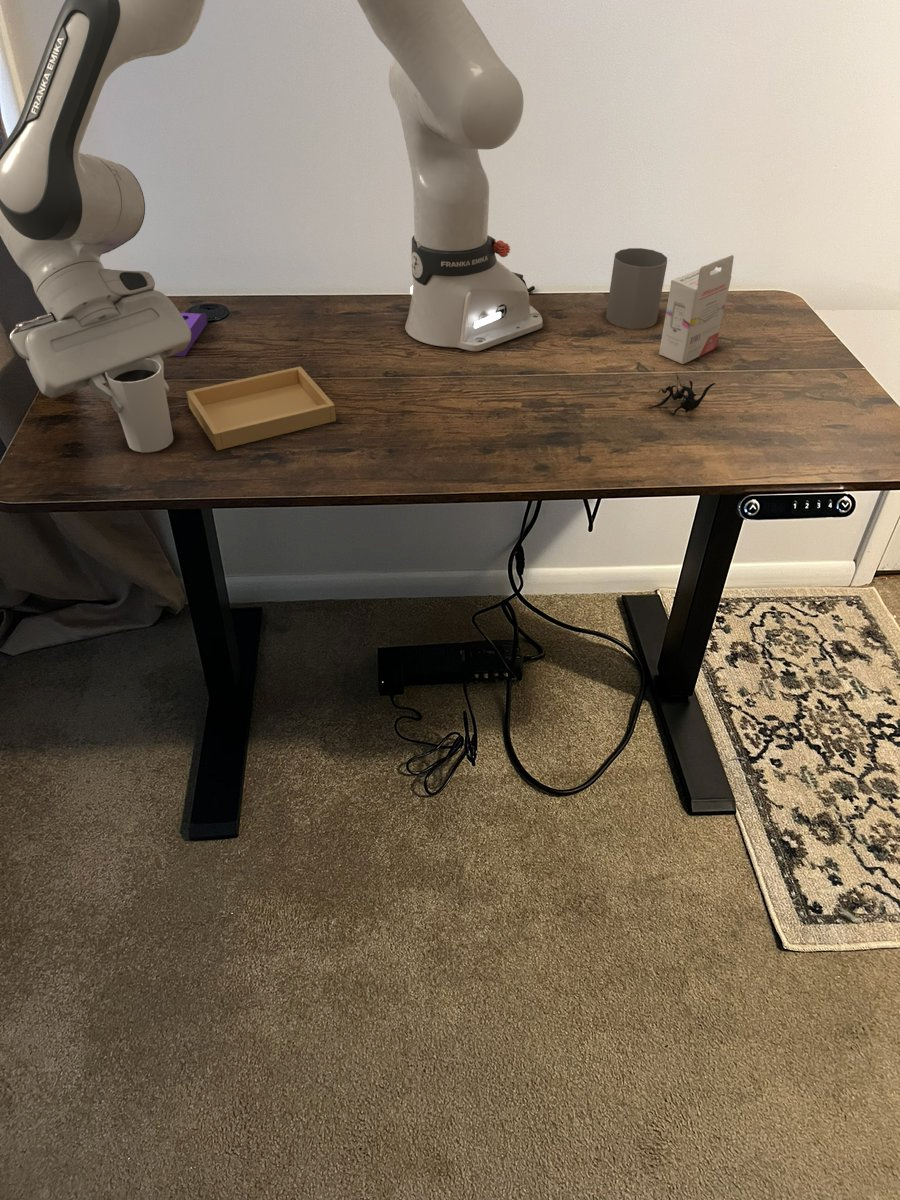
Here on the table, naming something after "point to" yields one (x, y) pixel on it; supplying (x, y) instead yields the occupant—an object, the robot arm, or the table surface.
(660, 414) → the table surface
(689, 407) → the creature
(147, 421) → the white tumbler
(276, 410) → the tray
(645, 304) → the cup
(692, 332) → the ink cartridge box
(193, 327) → the bracket
